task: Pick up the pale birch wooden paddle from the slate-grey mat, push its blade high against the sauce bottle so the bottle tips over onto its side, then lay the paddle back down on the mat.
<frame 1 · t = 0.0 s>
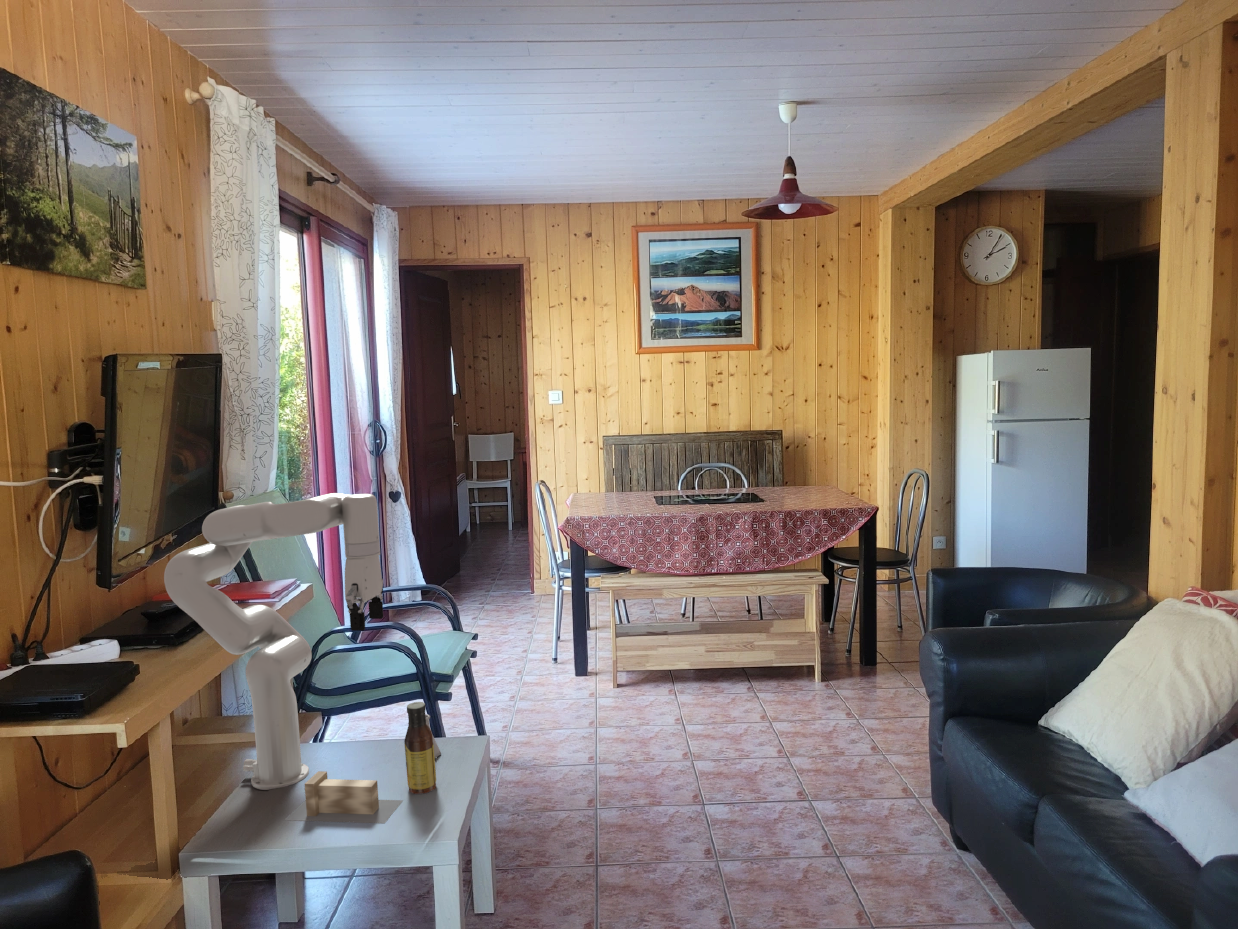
hand: (367, 624, 197), 37 cm above the table, tool pointing down, fingers open, 9 cm apart
sauce bottle: (422, 791, 194), on the table
wooden paddle: (344, 810, 185), point 1 cm above the table, touching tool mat
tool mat: (344, 812, 185), on the table
flask: (425, 757, 213), on the table
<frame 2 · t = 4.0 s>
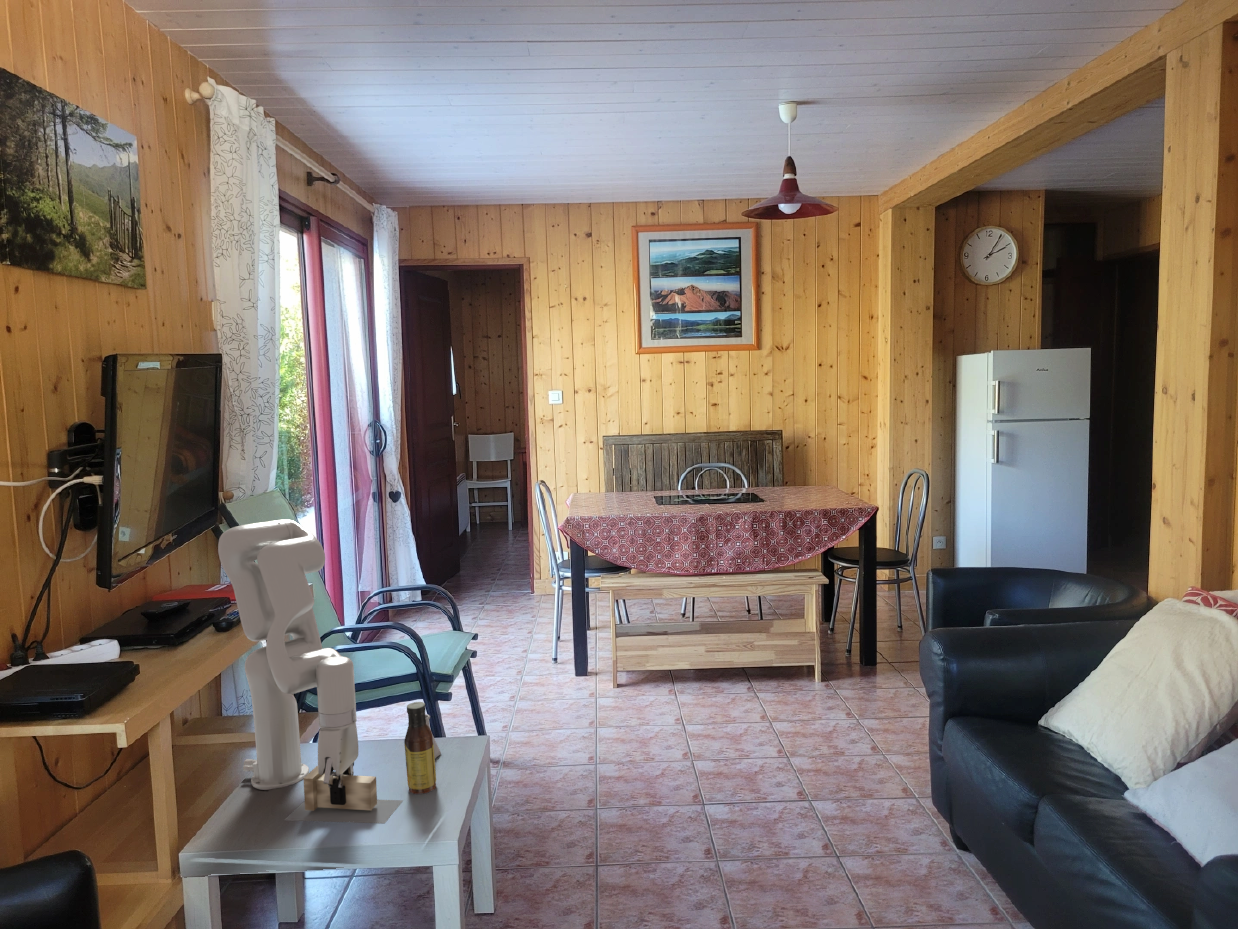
hand: (342, 799, 185), 3 cm above the table, tool pointing down, fingers closed on wooden paddle, 3 cm apart
wooden paddle: (342, 805, 185), point 1 cm above the table, touching gripper
everything else where it was.
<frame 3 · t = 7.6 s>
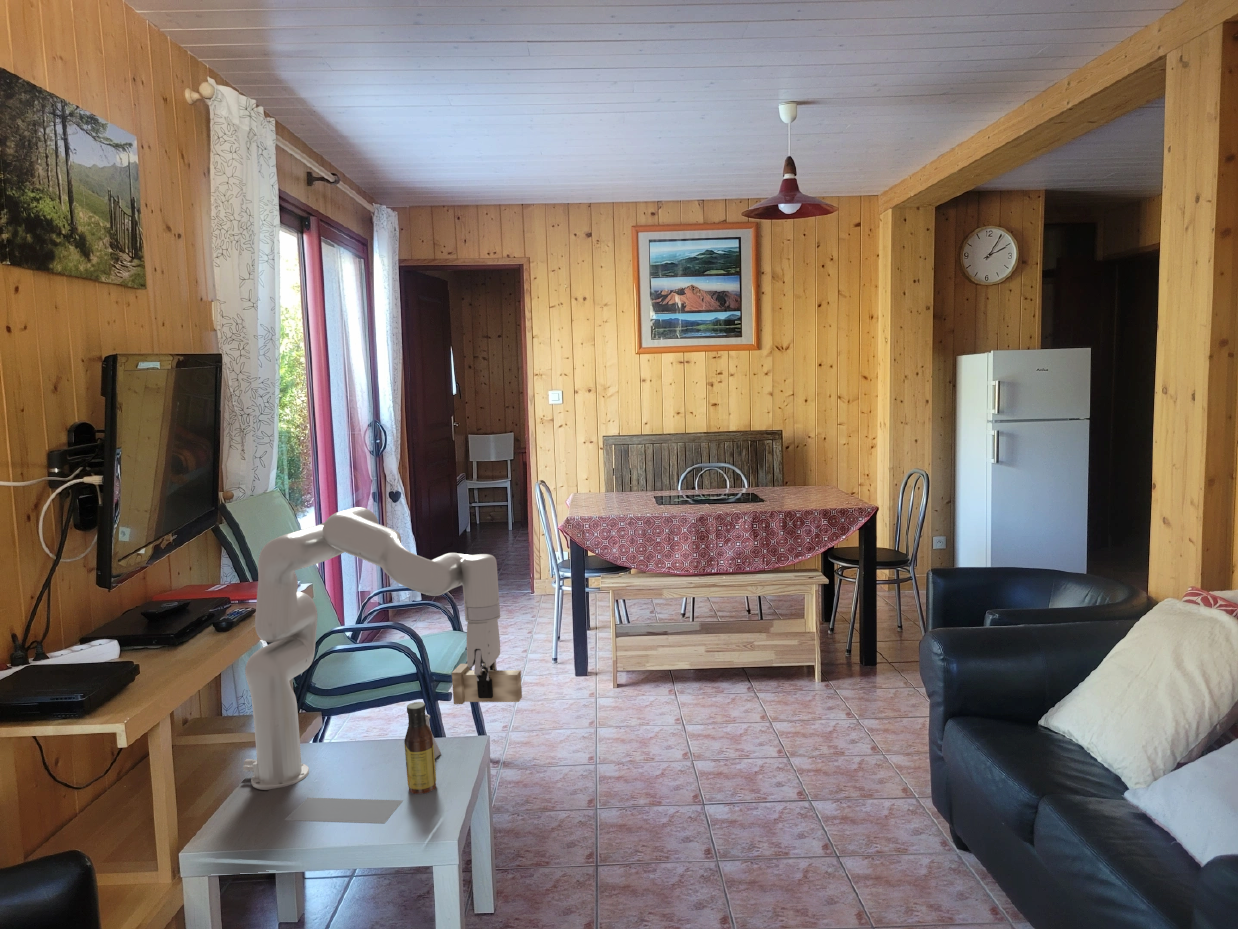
hand: (488, 694, 190), 22 cm above the table, tool pointing down, fingers closed on wooden paddle, 3 cm apart
wooden paddle: (489, 699, 190), point 21 cm above the table, touching gripper
everything else where it was.
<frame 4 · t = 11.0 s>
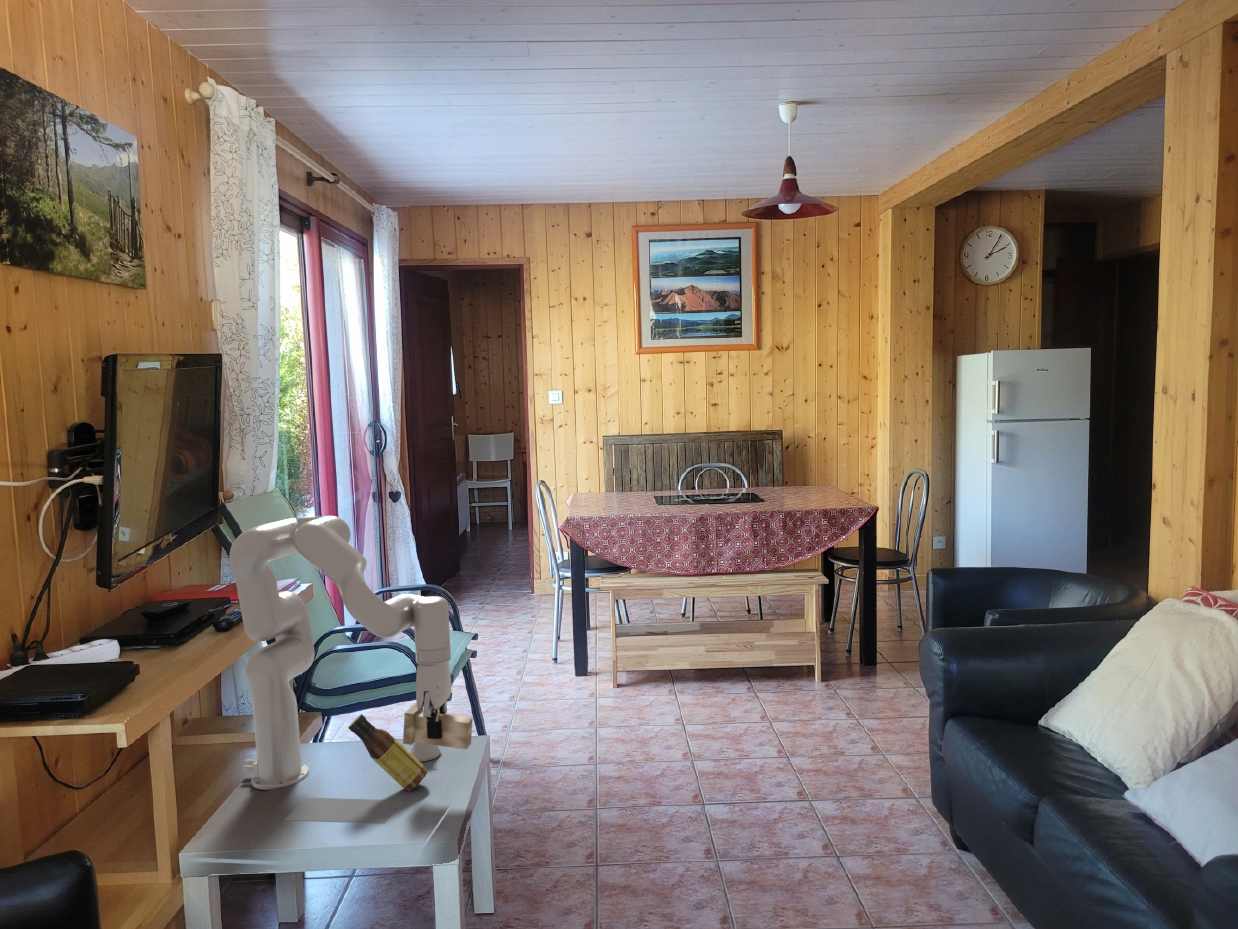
hand: (437, 734, 192), 13 cm above the table, tool pointing down, fingers closed on wooden paddle, 2 cm apart
sauce bottle: (419, 783, 194), point 2 cm above the table
wooden paddle: (438, 742, 192), point 11 cm above the table, tilted 7°, touching gripper
everything else where it was.
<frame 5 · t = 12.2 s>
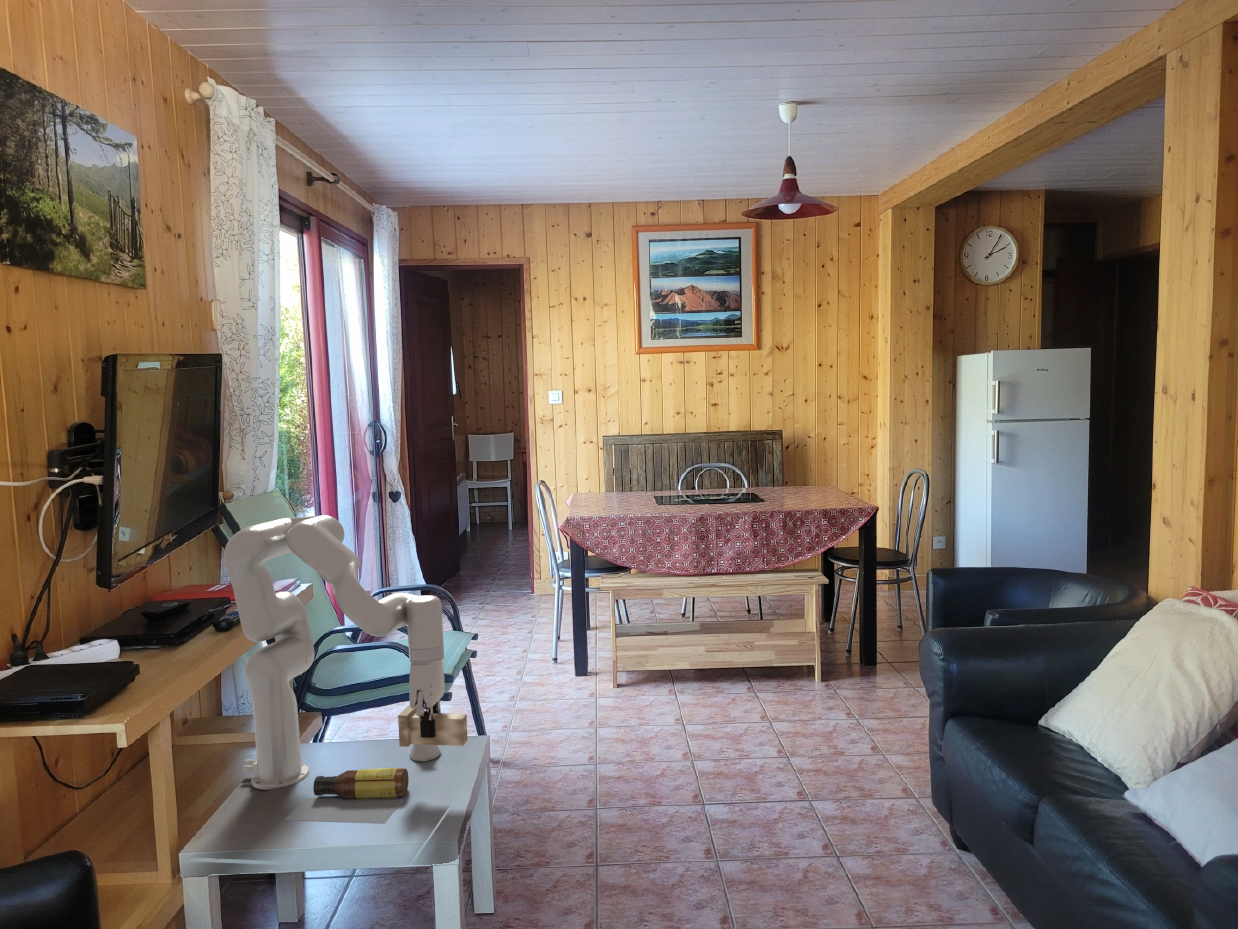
hand: (431, 733, 193), 13 cm above the table, tool pointing down, fingers closed on wooden paddle, 2 cm apart
sauce bottle: (406, 783, 191), point 3 cm above the table, touching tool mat
wooden paddle: (434, 742, 193), point 11 cm above the table, touching gripper
everything else where it was.
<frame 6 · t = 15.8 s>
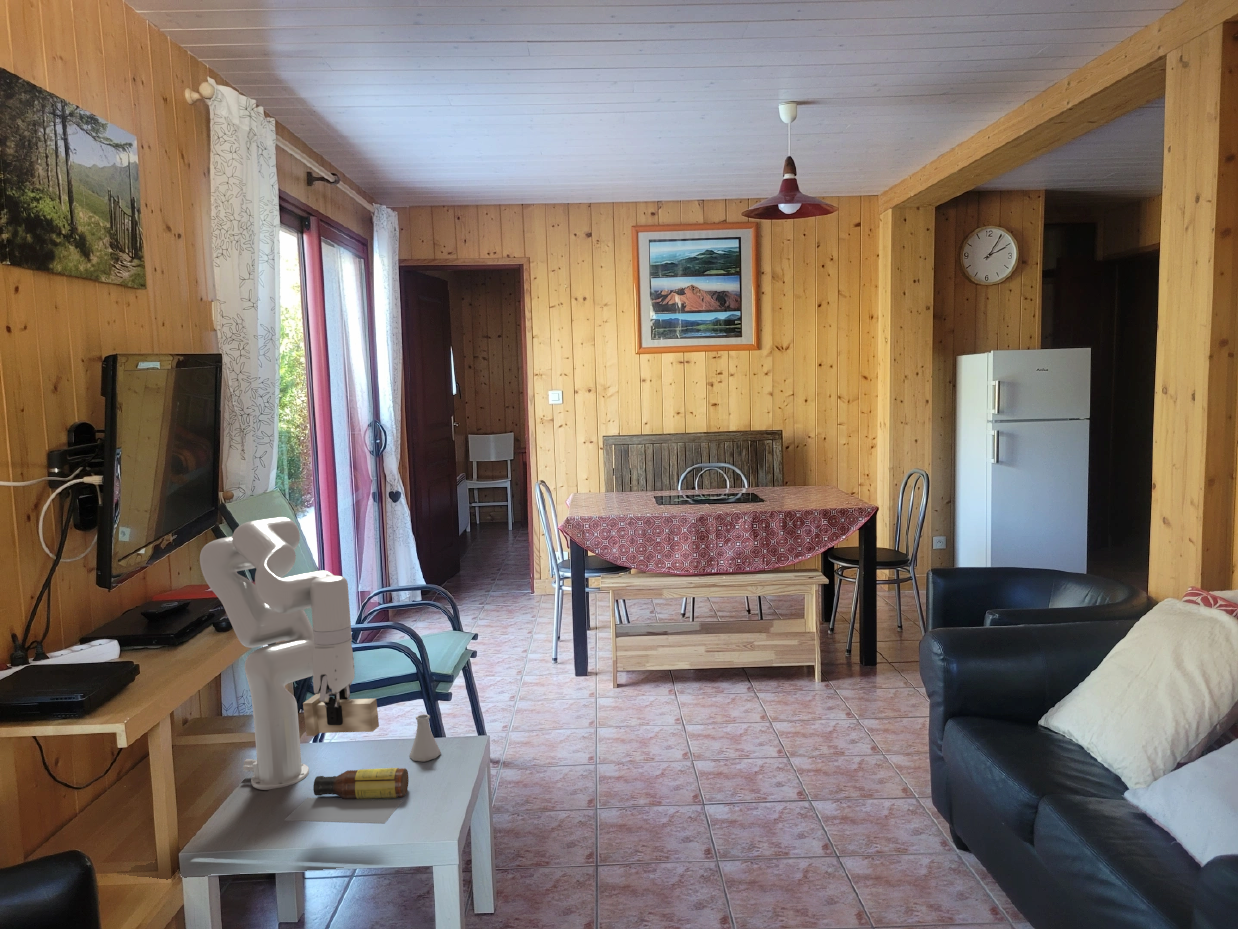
hand: (339, 720, 183), 20 cm above the table, tool pointing down, fingers closed on wooden paddle, 2 cm apart
wooden paddle: (344, 729, 183), point 18 cm above the table, touching gripper
everything else where it was.
when the fingers open (3 cm above the table, at t = 18.9 s): wooden paddle drops 1 cm, resting on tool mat.
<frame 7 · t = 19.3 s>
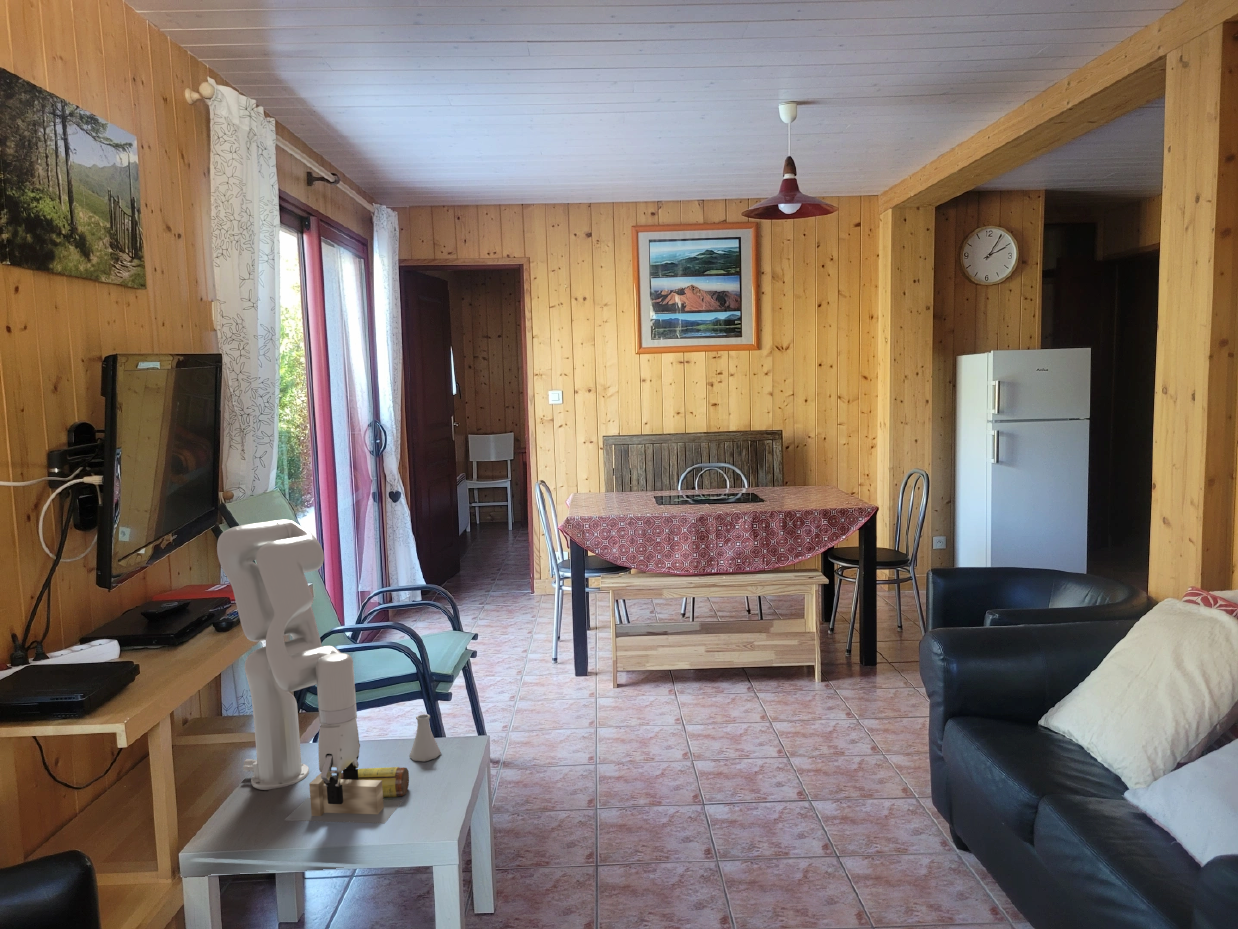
hand: (343, 794, 185), 4 cm above the table, tool pointing down, fingers open, 6 cm apart
sauce bottle: (407, 782, 192), point 3 cm above the table, touching gripper
wooden paddle: (349, 810, 185), point 1 cm above the table, touching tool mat
everything else where it was.
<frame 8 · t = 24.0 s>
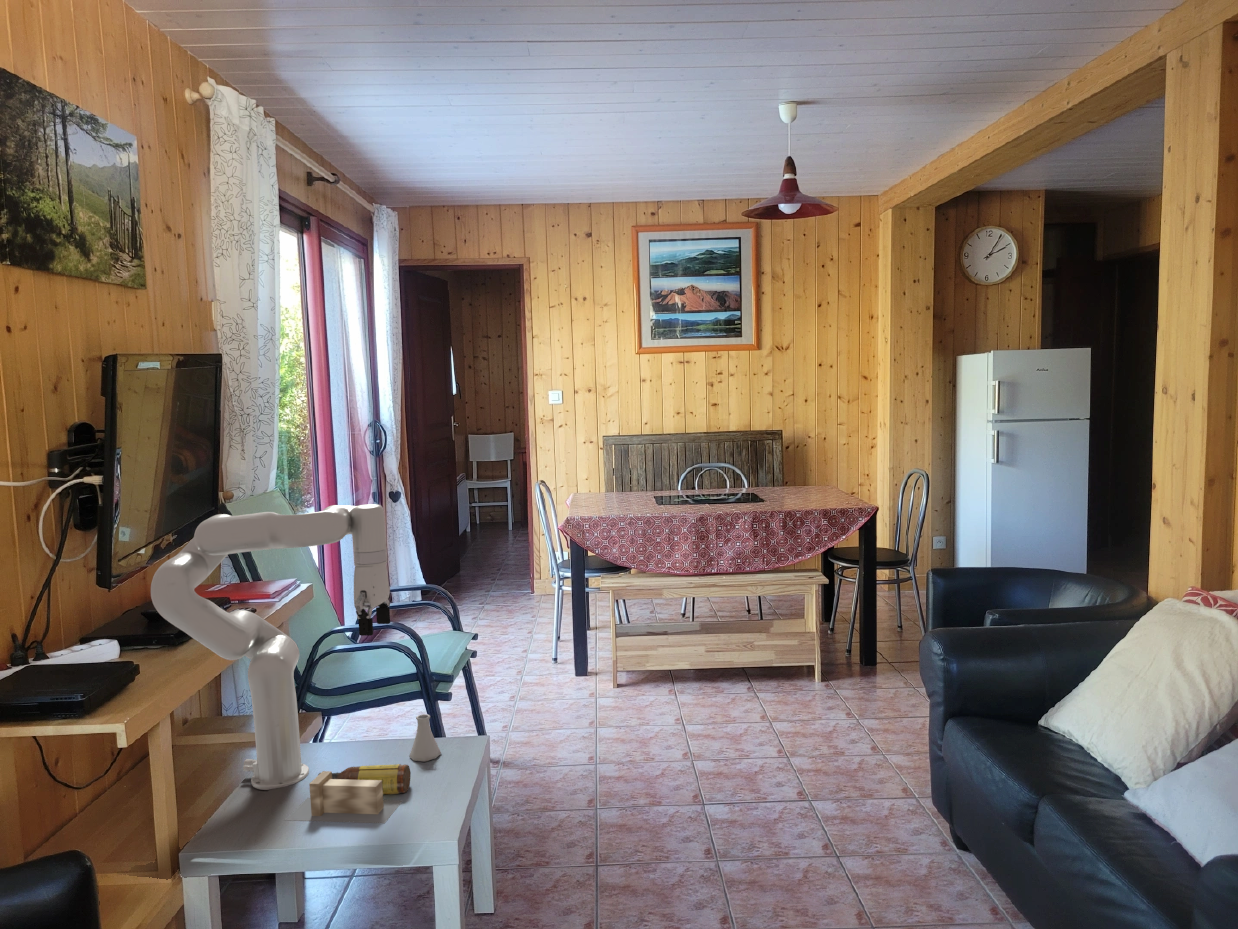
hand: (375, 629, 205), 33 cm above the table, tool pointing down, fingers open, 9 cm apart
sauce bottle: (408, 779, 193), point 3 cm above the table
everything else where it was.
at the end: sauce bottle tilted 90°; wooden paddle inside the target area on the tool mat (1.0 cm from its centre), point 0.6 cm above the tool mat's base; the gripper is holding nothing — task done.
